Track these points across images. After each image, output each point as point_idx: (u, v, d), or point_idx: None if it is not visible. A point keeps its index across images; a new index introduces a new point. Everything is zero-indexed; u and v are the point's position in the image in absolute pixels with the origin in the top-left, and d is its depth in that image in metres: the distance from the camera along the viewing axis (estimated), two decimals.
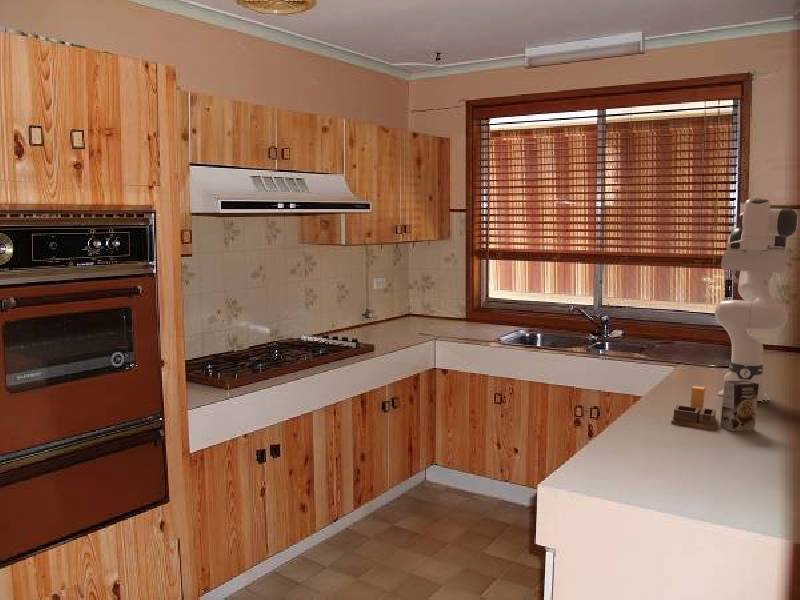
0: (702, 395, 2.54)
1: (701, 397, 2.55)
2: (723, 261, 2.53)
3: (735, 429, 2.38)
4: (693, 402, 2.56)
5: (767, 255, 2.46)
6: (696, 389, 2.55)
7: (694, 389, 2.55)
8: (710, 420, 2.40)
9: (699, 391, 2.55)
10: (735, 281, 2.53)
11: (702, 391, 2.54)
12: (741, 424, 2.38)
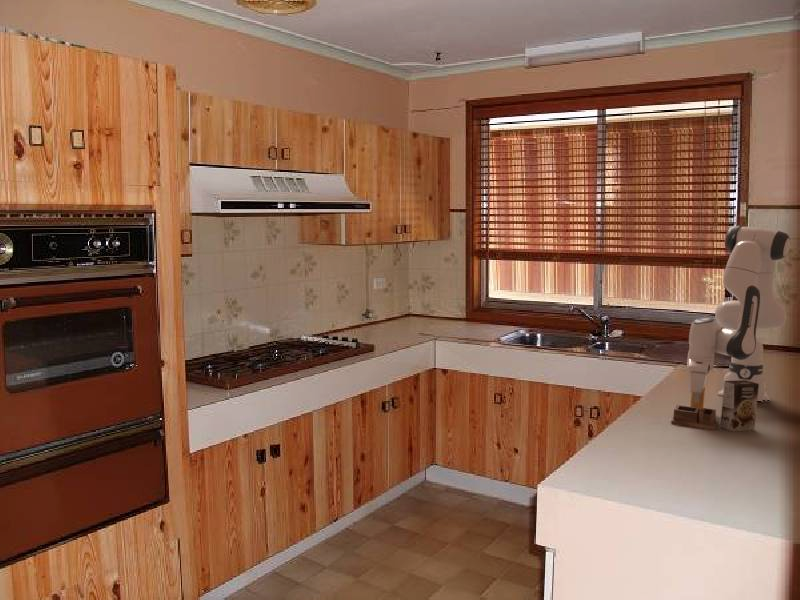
0: (702, 395, 2.54)
1: (701, 397, 2.55)
2: (703, 385, 2.47)
3: (735, 429, 2.38)
4: (693, 402, 2.56)
5: None
6: None
7: None
8: (710, 420, 2.40)
9: None
10: (699, 400, 2.54)
11: (702, 391, 2.54)
12: (741, 424, 2.38)
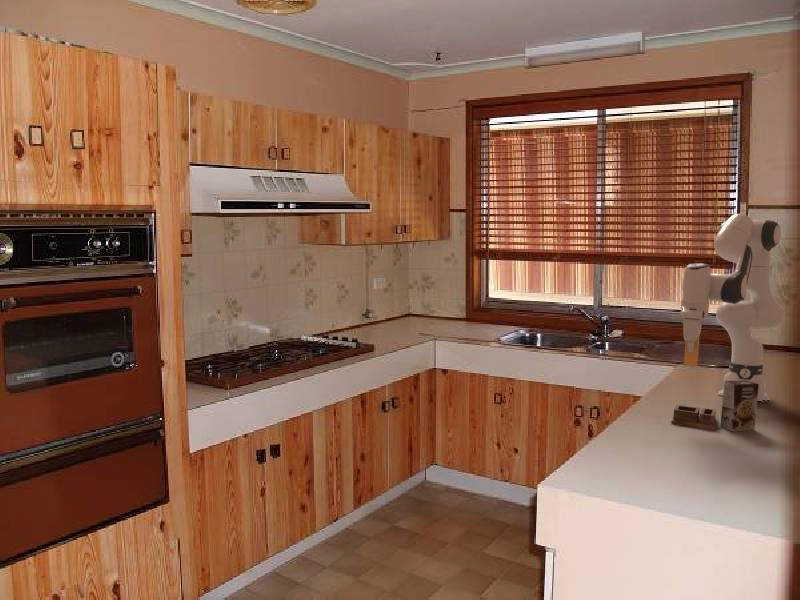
0: (696, 344, 2.42)
1: (695, 346, 2.43)
2: (697, 332, 2.35)
3: (735, 429, 2.38)
4: (687, 352, 2.44)
5: None
6: None
7: None
8: (710, 420, 2.40)
9: None
10: (693, 350, 2.42)
11: (696, 340, 2.42)
12: (741, 424, 2.38)
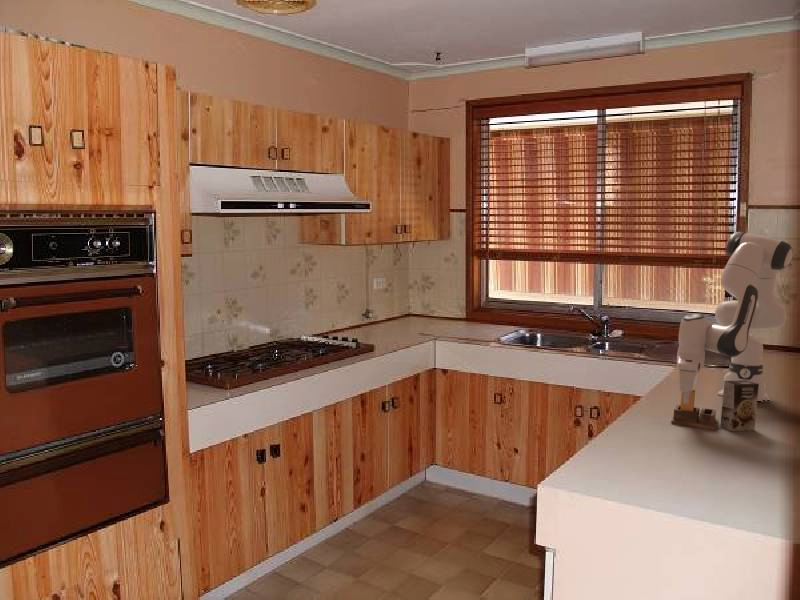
0: (692, 398, 2.45)
1: (691, 401, 2.45)
2: (692, 384, 2.37)
3: (735, 429, 2.38)
4: (683, 406, 2.46)
5: None
6: None
7: None
8: (710, 420, 2.40)
9: None
10: (688, 401, 2.43)
11: (692, 394, 2.45)
12: (741, 424, 2.38)
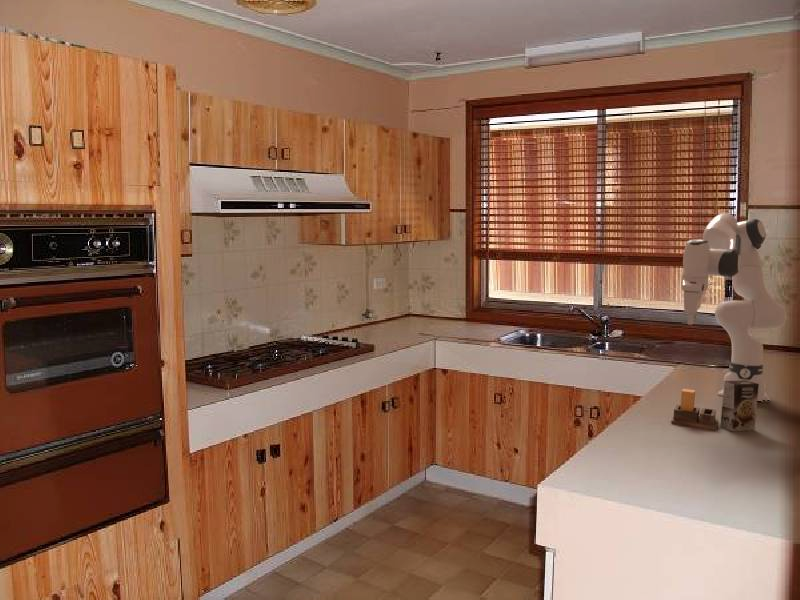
0: (692, 398, 2.45)
1: (691, 401, 2.45)
2: (697, 304, 2.47)
3: (735, 429, 2.38)
4: (683, 406, 2.46)
5: None
6: (686, 392, 2.46)
7: (684, 392, 2.46)
8: (710, 420, 2.40)
9: (689, 394, 2.45)
10: (692, 322, 2.52)
11: (692, 394, 2.45)
12: (741, 424, 2.38)
